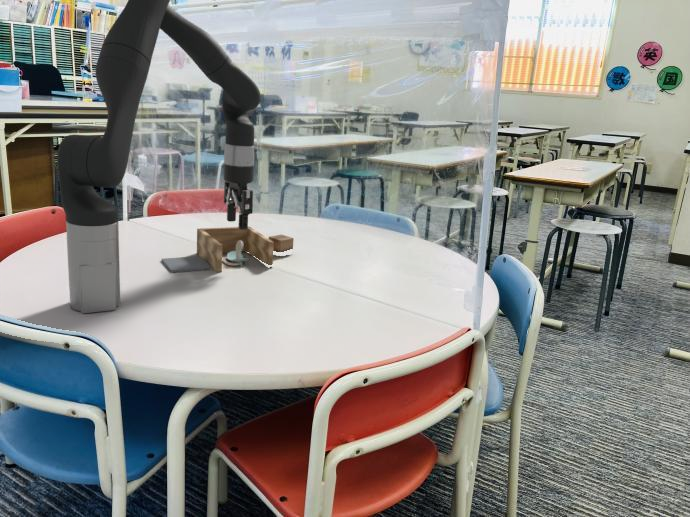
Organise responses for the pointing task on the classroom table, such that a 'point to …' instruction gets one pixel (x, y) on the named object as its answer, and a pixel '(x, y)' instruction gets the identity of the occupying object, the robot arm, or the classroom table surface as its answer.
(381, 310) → the classroom table surface
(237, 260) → the pacifier
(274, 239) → the walnut block
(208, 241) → the cubby
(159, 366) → the classroom table surface
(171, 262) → the pad
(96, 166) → the robot arm
